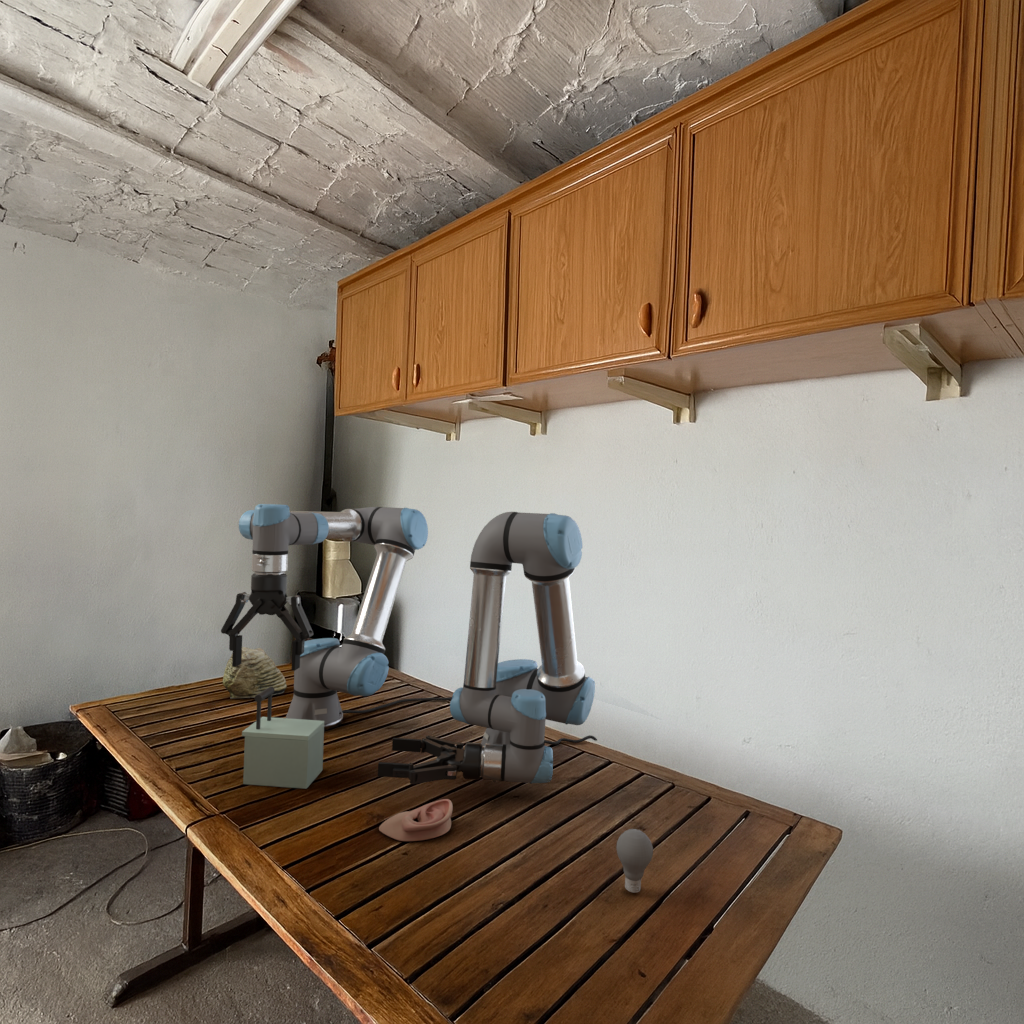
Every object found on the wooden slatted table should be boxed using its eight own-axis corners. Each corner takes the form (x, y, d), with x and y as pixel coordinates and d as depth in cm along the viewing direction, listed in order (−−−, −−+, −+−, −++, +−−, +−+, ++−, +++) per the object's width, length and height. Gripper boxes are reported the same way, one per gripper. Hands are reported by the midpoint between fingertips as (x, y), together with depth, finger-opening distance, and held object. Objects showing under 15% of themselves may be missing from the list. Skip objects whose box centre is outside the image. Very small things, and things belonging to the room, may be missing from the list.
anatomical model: (372, 815, 119) (396, 788, 130) (371, 836, 119) (395, 808, 130) (440, 826, 116) (458, 797, 127) (439, 847, 116) (457, 817, 127)
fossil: (218, 695, 195) (220, 647, 195) (278, 685, 208) (279, 640, 207) (228, 703, 189) (230, 653, 188) (289, 692, 201) (290, 645, 201)
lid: (241, 736, 138) (243, 696, 138) (262, 721, 147) (263, 683, 147) (308, 740, 137) (309, 700, 137) (324, 725, 146) (325, 687, 146)
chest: (243, 784, 138) (244, 736, 138) (263, 765, 148) (264, 721, 147) (306, 788, 137) (308, 741, 137) (322, 770, 147) (324, 725, 146)
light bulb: (610, 879, 108) (613, 822, 108) (644, 879, 109) (647, 822, 109) (619, 902, 102) (622, 840, 102) (655, 901, 103) (658, 840, 103)
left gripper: (206, 571, 139) (203, 668, 139) (317, 577, 137) (313, 675, 138) (224, 568, 146) (221, 659, 147) (329, 573, 145) (326, 666, 145)
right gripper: (476, 805, 126) (370, 799, 127) (485, 755, 151) (397, 750, 152) (478, 768, 126) (372, 762, 127) (486, 724, 151) (398, 719, 152)
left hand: (266, 667), depth 142 cm, fingers open, 13 cm apart
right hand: (385, 756), depth 139 cm, fingers open, 13 cm apart
